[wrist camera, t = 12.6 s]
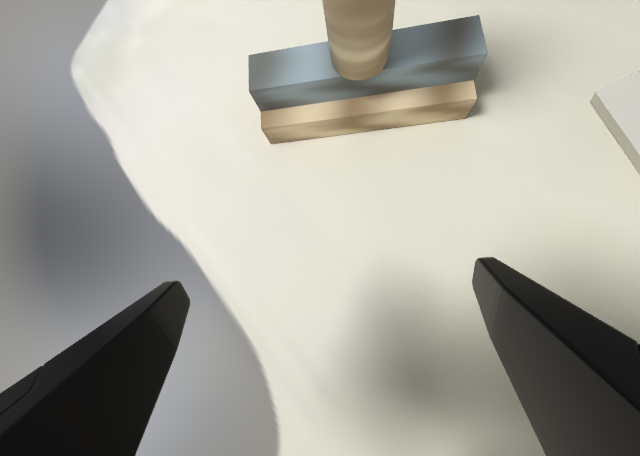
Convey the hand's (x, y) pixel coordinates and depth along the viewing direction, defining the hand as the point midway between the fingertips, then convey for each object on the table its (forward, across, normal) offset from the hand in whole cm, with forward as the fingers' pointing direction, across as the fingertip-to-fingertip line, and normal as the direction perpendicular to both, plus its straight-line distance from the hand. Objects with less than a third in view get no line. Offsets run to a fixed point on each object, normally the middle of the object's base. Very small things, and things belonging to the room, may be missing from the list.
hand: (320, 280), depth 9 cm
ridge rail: (+20, -2, -1) cm, 21 cm away
